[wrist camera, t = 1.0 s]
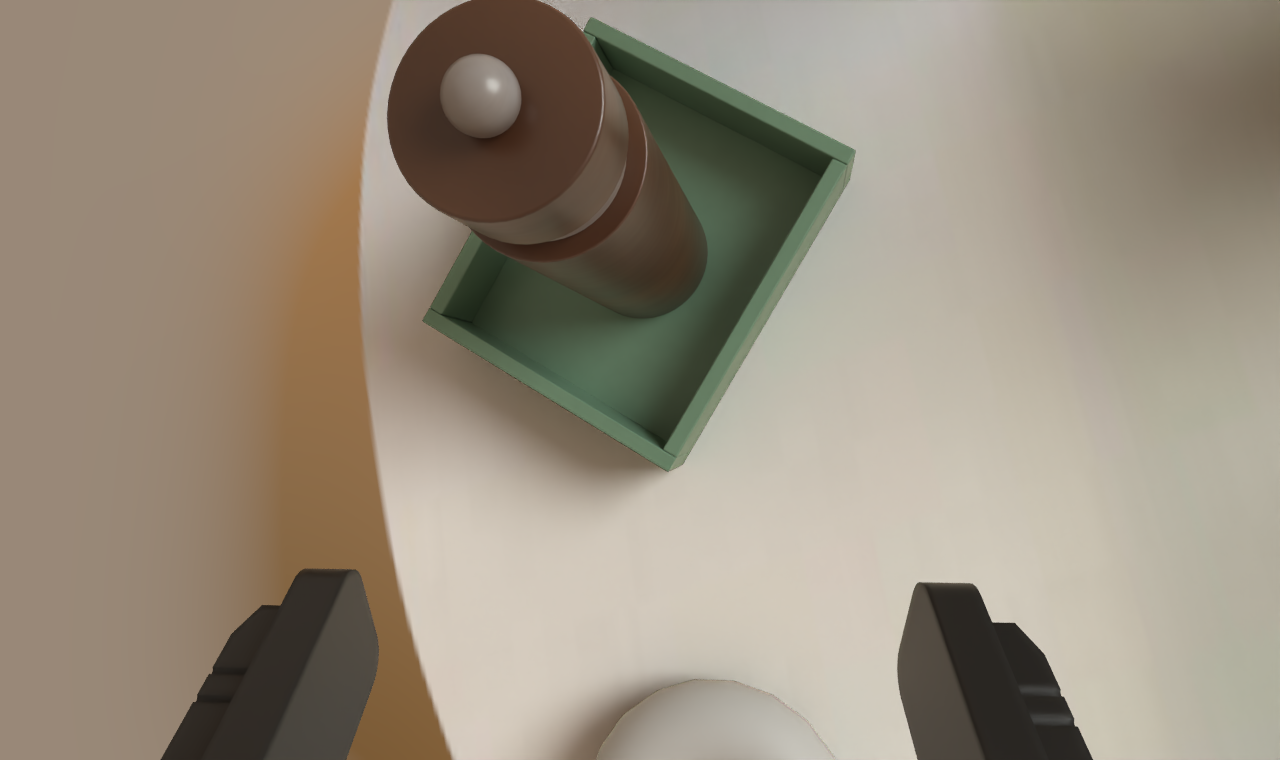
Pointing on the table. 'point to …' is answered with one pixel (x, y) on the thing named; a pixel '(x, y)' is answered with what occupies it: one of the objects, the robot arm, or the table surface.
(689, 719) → the donut
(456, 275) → the green shallow open box
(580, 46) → the pepper mill
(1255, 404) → the table surface
